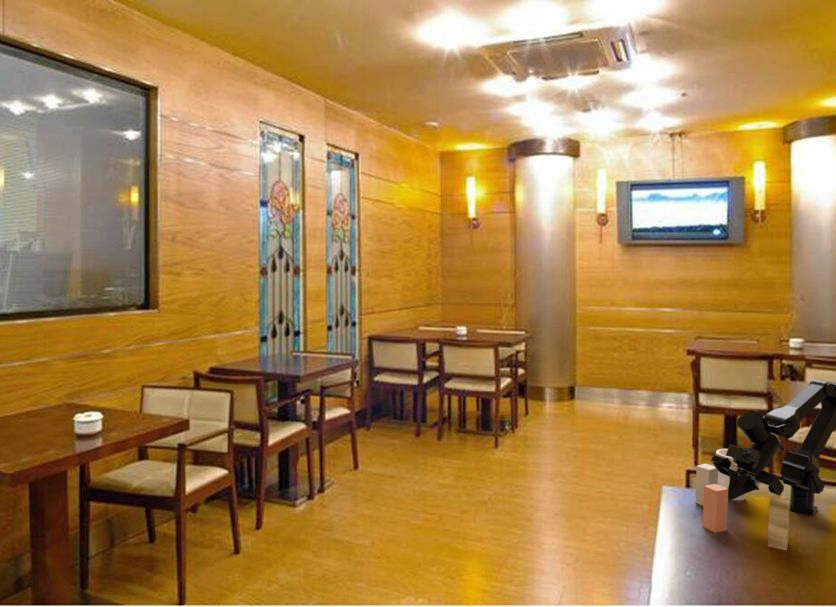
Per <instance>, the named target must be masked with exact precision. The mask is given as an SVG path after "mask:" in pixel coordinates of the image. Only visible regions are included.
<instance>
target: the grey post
mask: <svg viewBox="0 0 836 607" xmlns="http://www.w3.org/2000/svg"><path fill="white" fill-rule="evenodd" d="M695 476H696V477H695V501H694V503H695V504H696V503H698V504H700V505H699V506H701V505H703V503H704V486H706V485H711V484H717V485H719V479H718V470H717V469H716V467H715V466H714V465H713V464H708V463H703V464H699V465H696V473H695ZM698 504H697V505H698Z"/></svg>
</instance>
